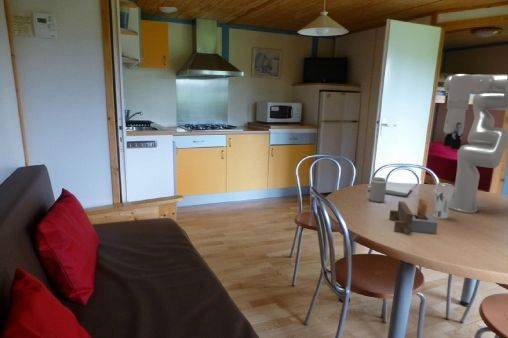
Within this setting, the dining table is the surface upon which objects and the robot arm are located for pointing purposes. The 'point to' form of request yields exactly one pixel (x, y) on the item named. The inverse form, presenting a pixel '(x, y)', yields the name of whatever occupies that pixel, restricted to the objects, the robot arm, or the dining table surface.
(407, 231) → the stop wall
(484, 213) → the dining table surface
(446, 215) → the beer glass
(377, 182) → the can
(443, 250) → the dining table surface
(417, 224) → the hole block
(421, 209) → the dowel
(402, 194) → the salad plate
